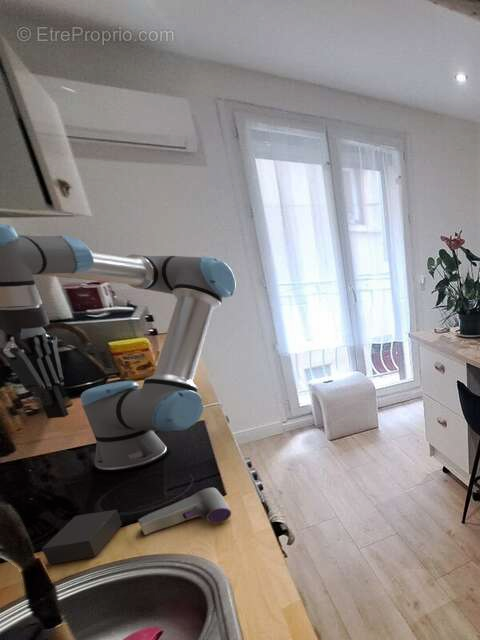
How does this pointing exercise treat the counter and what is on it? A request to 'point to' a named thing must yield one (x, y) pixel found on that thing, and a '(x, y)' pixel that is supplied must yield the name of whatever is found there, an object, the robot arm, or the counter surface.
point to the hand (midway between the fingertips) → (58, 416)
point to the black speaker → (82, 537)
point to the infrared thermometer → (188, 511)
